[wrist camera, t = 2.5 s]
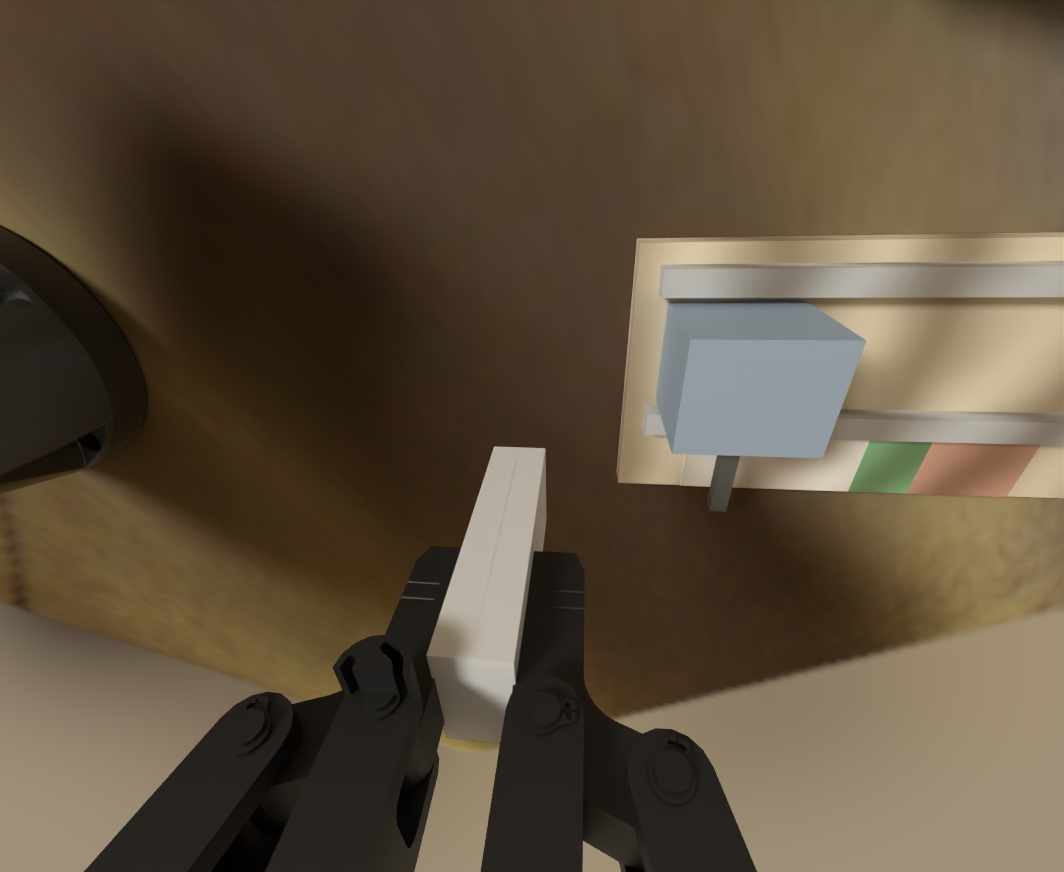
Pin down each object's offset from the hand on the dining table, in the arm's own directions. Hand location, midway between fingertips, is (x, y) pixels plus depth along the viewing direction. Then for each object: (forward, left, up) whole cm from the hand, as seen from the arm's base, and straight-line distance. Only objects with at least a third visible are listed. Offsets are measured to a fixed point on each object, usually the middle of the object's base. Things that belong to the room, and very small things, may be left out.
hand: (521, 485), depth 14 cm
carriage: (+9, -2, -11) cm, 14 cm away
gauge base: (+17, -1, -12) cm, 20 cm away
